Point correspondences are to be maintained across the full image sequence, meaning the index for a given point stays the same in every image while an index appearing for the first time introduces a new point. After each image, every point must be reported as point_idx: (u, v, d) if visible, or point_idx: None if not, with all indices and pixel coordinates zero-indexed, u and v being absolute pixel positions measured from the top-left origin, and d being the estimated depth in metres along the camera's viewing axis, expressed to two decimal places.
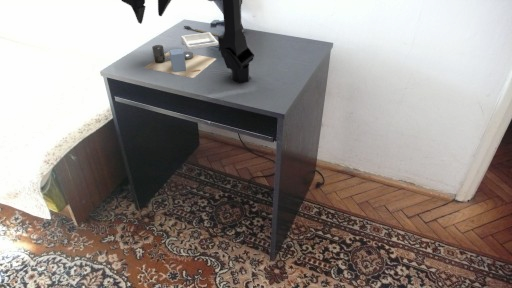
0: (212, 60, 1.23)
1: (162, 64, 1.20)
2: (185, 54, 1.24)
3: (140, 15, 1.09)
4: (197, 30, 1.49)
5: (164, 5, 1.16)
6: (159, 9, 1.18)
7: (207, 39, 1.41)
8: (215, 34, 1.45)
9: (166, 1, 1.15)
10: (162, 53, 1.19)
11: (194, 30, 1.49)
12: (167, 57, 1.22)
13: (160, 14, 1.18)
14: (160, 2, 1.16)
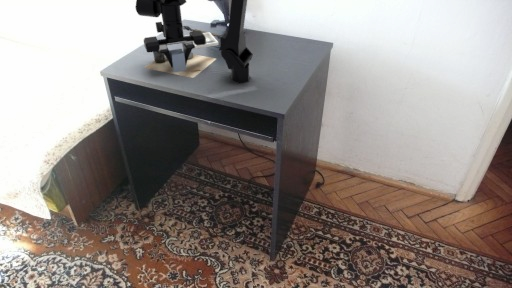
0: (212, 60, 1.23)
1: (162, 64, 1.20)
2: None
3: None
4: (196, 30, 1.49)
5: (185, 54, 1.14)
6: None
7: (207, 39, 1.41)
8: (214, 34, 1.45)
9: (185, 51, 1.12)
10: (162, 53, 1.19)
11: (193, 30, 1.49)
12: None
13: None
14: (183, 51, 1.15)
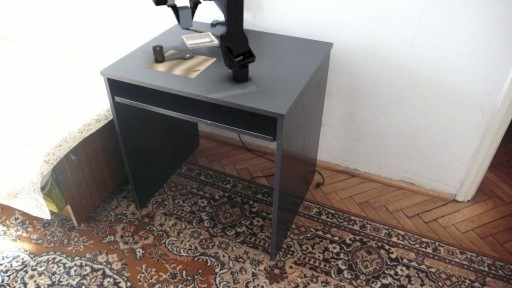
0: (212, 60, 1.23)
1: (162, 64, 1.20)
2: (185, 54, 1.24)
3: (175, 15, 1.15)
4: (195, 30, 1.49)
5: (192, 10, 1.17)
6: None
7: (207, 39, 1.41)
8: (214, 34, 1.45)
9: (192, 6, 1.15)
10: (162, 53, 1.19)
11: (192, 30, 1.49)
12: (167, 57, 1.22)
13: None
14: None
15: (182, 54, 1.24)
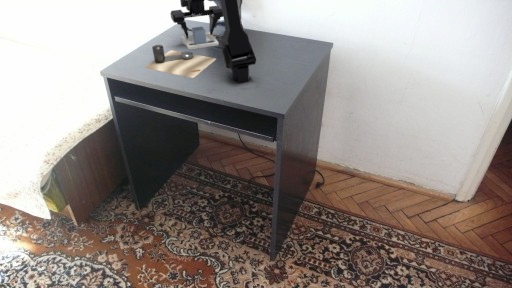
0: (212, 60, 1.23)
1: (162, 64, 1.20)
2: (185, 54, 1.24)
3: (184, 30, 1.30)
4: None
5: (211, 25, 1.33)
6: (210, 29, 1.35)
7: (207, 39, 1.41)
8: (213, 34, 1.45)
9: (212, 21, 1.31)
10: (162, 53, 1.19)
11: (191, 30, 1.49)
12: (167, 57, 1.22)
13: (210, 33, 1.36)
14: (210, 23, 1.34)
15: (182, 54, 1.24)
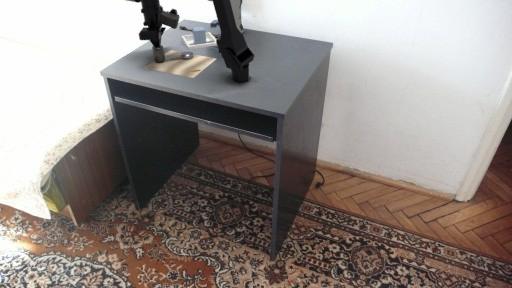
0: (212, 60, 1.23)
1: (162, 64, 1.20)
2: (185, 54, 1.24)
3: None
4: None
5: None
6: None
7: (207, 39, 1.41)
8: (212, 34, 1.45)
9: None
10: (162, 53, 1.19)
11: (190, 30, 1.49)
12: (167, 57, 1.22)
13: None
14: None
15: (182, 54, 1.24)
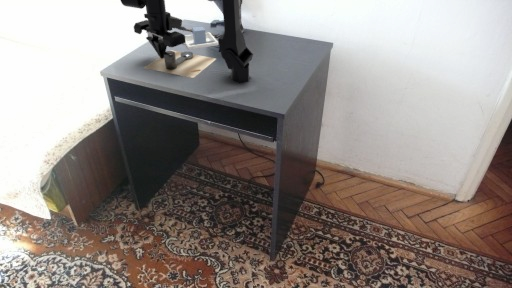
0: (212, 60, 1.23)
1: (162, 64, 1.20)
2: (186, 54, 1.23)
3: None
4: None
5: None
6: None
7: (207, 39, 1.41)
8: None
9: None
10: (175, 58, 1.16)
11: (189, 30, 1.49)
12: (175, 61, 1.19)
13: None
14: None
15: (184, 55, 1.23)
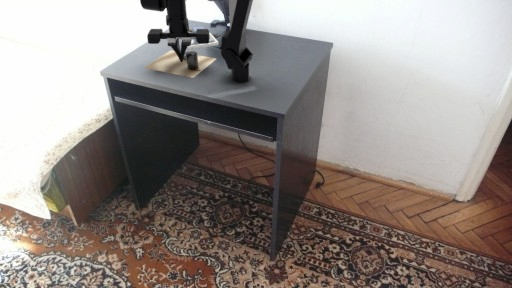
0: (212, 60, 1.23)
1: (162, 64, 1.20)
2: None
3: (176, 53, 1.12)
4: (191, 30, 1.49)
5: (181, 51, 1.12)
6: None
7: None
8: None
9: (181, 47, 1.10)
10: None
11: None
12: None
13: None
14: None
15: None
